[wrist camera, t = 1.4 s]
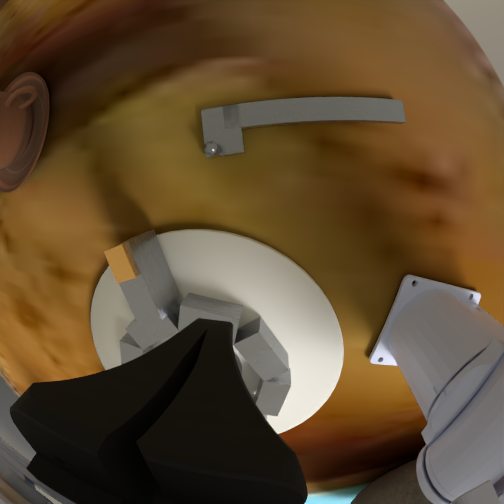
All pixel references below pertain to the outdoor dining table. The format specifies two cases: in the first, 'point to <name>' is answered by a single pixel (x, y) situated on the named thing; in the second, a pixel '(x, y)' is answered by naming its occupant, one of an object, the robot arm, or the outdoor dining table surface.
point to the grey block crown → (190, 317)
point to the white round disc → (254, 306)
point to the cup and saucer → (22, 128)
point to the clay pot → (394, 488)
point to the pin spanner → (289, 117)
